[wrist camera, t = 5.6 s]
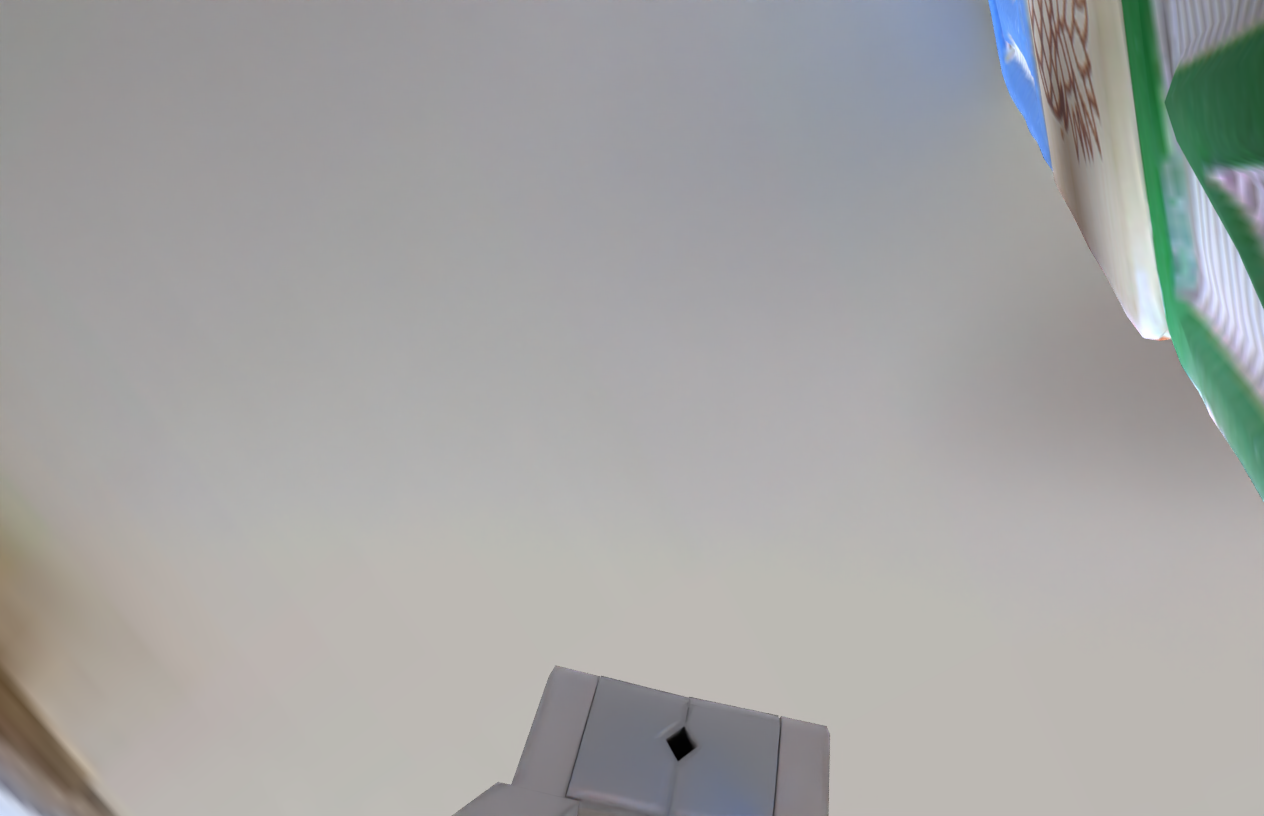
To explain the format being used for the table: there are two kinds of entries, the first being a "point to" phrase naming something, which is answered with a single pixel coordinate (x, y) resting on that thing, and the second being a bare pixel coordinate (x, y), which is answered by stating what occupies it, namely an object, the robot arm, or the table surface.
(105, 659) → the table surface
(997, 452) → the table surface
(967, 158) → the table surface
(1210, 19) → the stack of blocks
